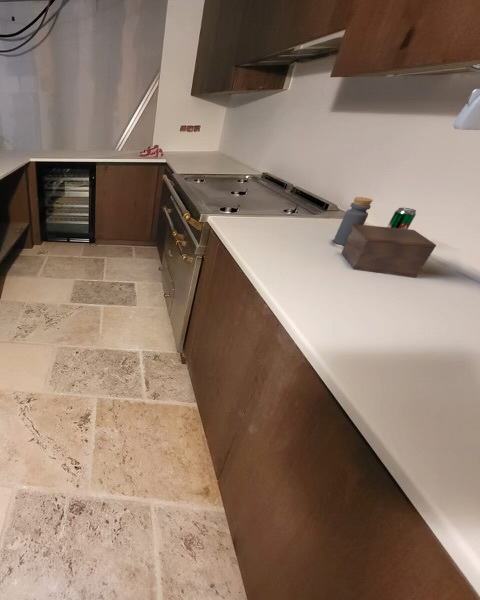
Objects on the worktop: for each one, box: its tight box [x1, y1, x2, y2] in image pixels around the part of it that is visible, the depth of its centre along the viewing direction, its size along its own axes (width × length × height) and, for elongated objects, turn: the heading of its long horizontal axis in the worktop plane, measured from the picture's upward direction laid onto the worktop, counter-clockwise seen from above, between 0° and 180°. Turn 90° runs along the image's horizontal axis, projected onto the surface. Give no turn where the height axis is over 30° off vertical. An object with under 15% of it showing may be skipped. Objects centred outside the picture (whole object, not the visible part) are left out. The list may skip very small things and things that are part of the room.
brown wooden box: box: [341, 229, 435, 279], centre depth 94 cm, size 15×13×9 cm
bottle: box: [333, 196, 374, 246], centre depth 107 cm, size 6×6×15 cm
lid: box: [351, 224, 437, 249], centre depth 91 cm, size 15×13×1 cm
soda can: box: [386, 207, 417, 229], centre depth 106 cm, size 5×5×12 cm
